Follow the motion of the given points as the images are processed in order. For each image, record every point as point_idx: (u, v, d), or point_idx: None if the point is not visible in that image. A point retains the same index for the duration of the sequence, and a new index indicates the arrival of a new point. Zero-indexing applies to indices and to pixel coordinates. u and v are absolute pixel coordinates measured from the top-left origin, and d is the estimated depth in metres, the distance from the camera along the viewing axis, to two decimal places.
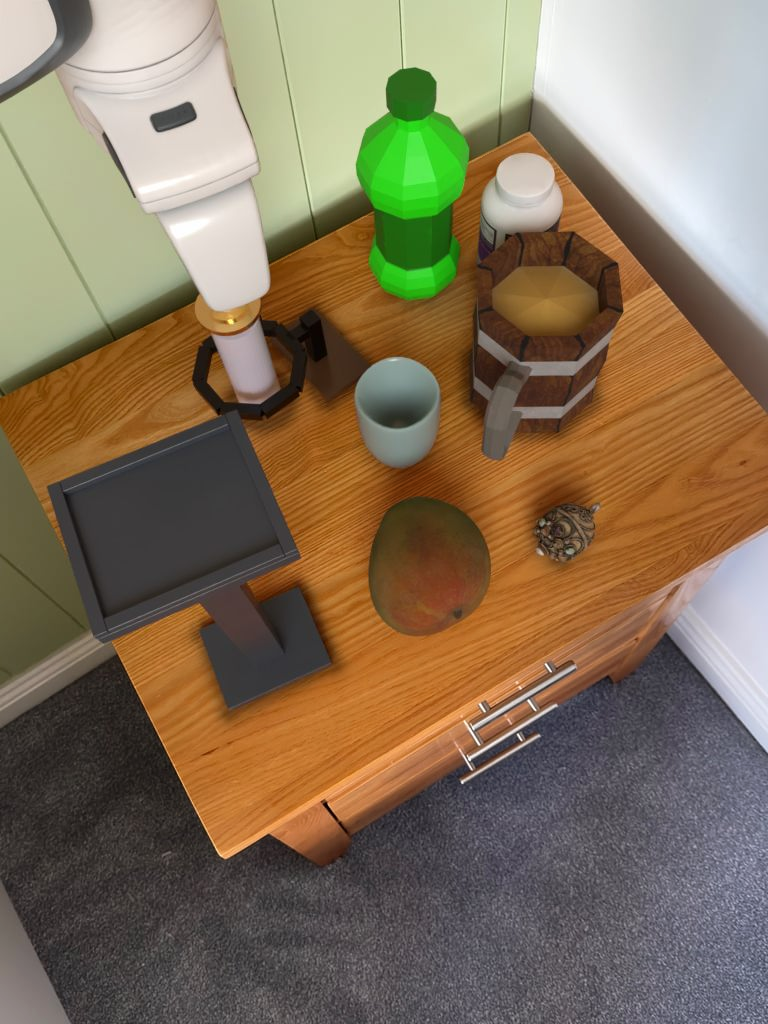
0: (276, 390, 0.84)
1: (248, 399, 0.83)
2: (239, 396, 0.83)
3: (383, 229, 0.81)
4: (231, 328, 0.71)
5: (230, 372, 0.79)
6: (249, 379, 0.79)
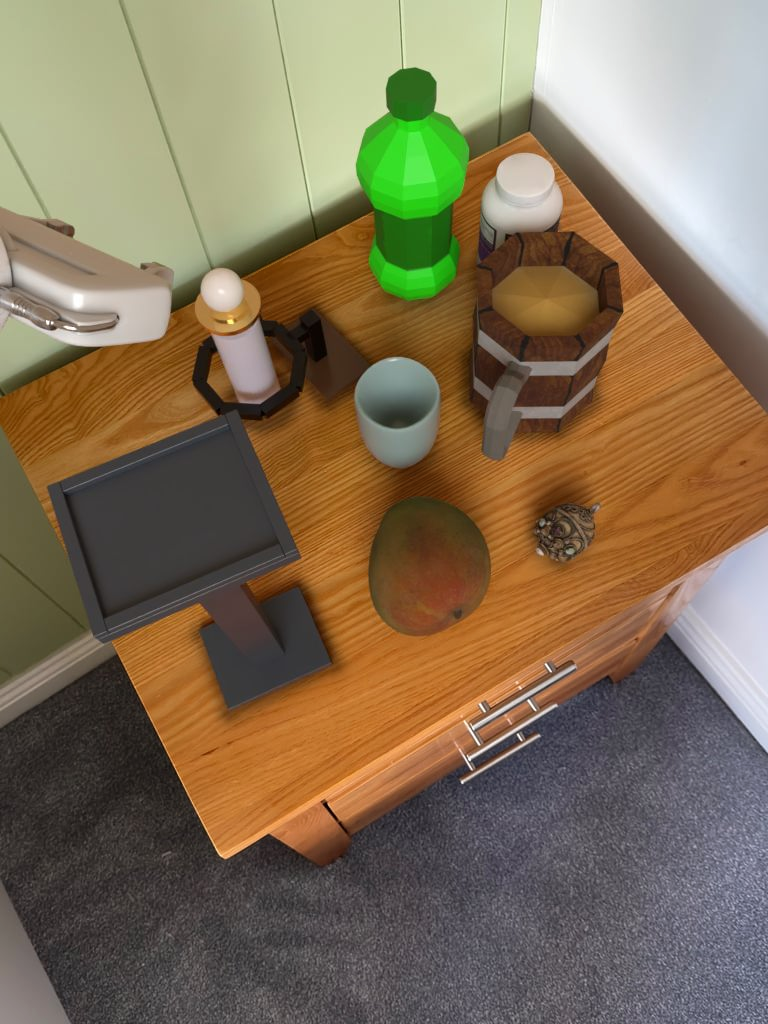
0: (276, 390, 0.84)
1: (248, 399, 0.83)
2: (239, 396, 0.83)
3: (383, 229, 0.81)
4: (231, 328, 0.71)
5: (230, 372, 0.79)
6: (249, 379, 0.79)
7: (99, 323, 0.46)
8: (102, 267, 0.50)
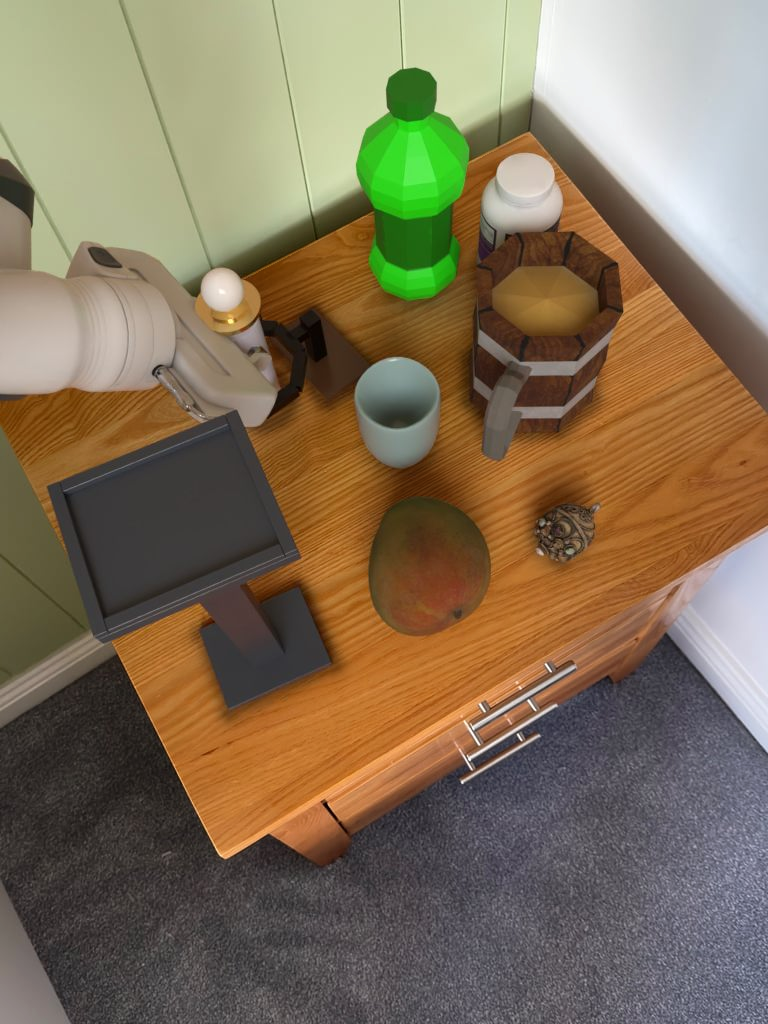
0: None
1: None
2: None
3: (383, 229, 0.81)
4: (231, 328, 0.71)
5: None
6: None
7: None
8: (235, 368, 0.69)
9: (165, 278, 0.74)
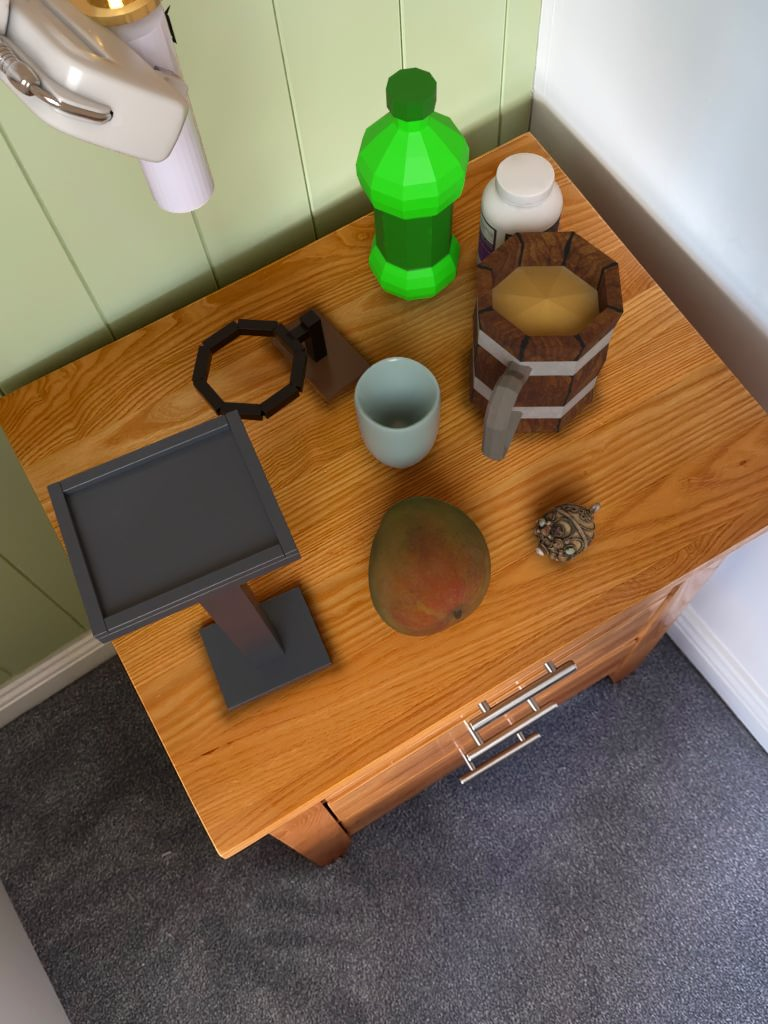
0: (204, 171, 0.58)
1: (162, 180, 0.57)
2: (149, 176, 0.57)
3: (383, 229, 0.81)
4: (117, 11, 0.45)
5: None
6: None
7: (84, 108, 0.39)
8: (117, 57, 0.43)
9: None
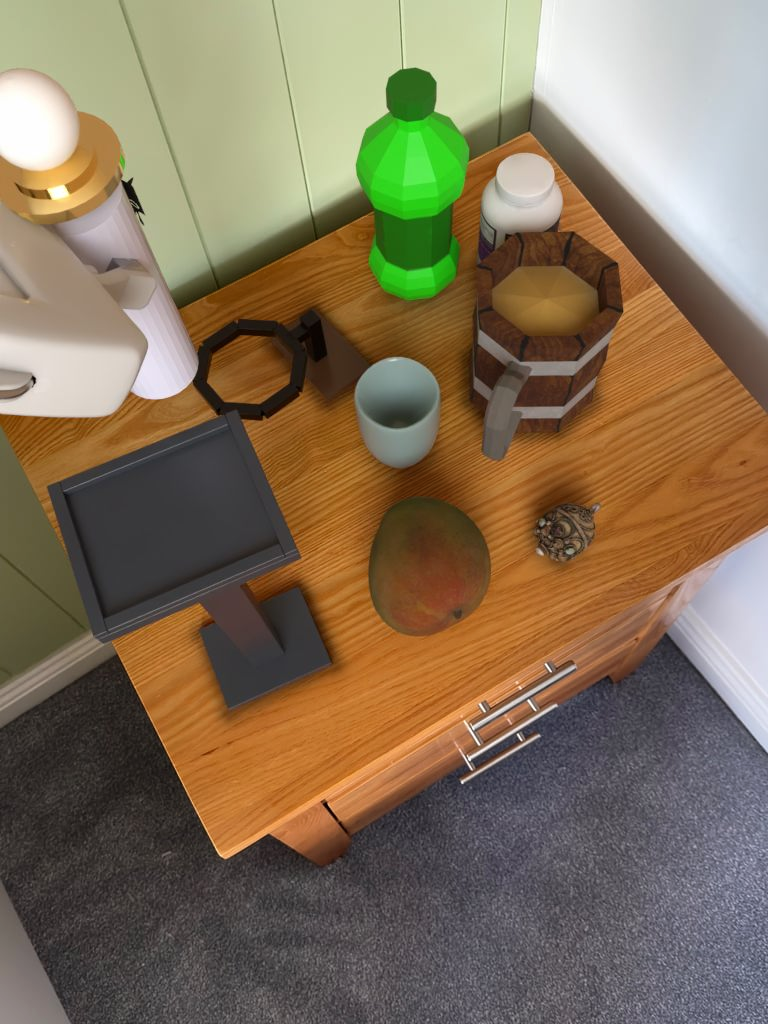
0: (184, 353, 0.46)
1: None
2: None
3: (383, 229, 0.81)
4: (55, 206, 0.34)
5: None
6: None
7: None
8: (48, 286, 0.31)
9: None
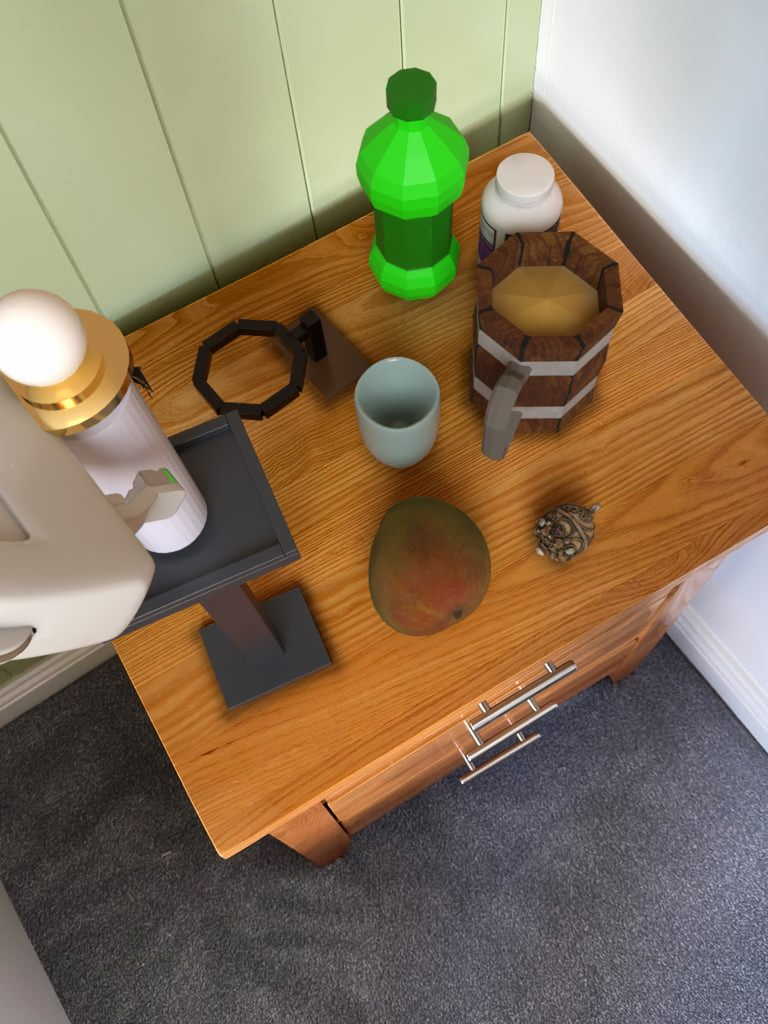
0: (193, 511, 0.45)
1: None
2: None
3: (383, 229, 0.81)
4: (60, 421, 0.32)
5: None
6: None
7: None
8: (50, 516, 0.29)
9: None
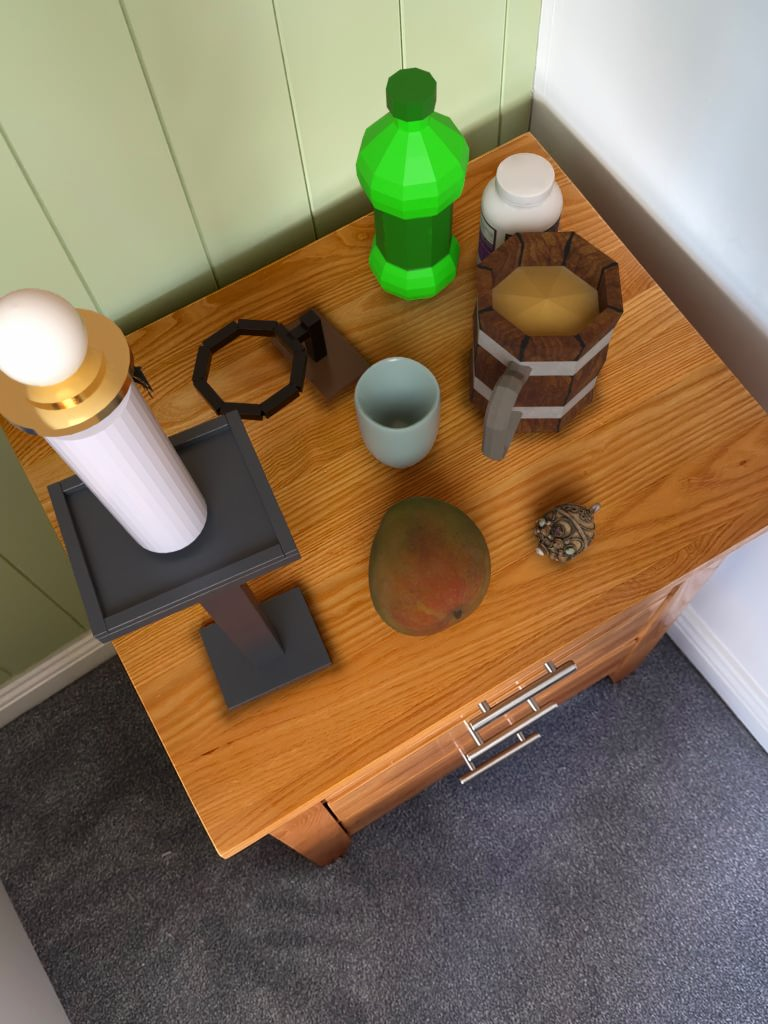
0: (193, 511, 0.45)
1: (137, 531, 0.44)
2: (121, 524, 0.44)
3: (383, 229, 0.81)
4: (61, 421, 0.32)
5: (91, 490, 0.40)
6: (130, 503, 0.40)
7: None
8: None
9: None
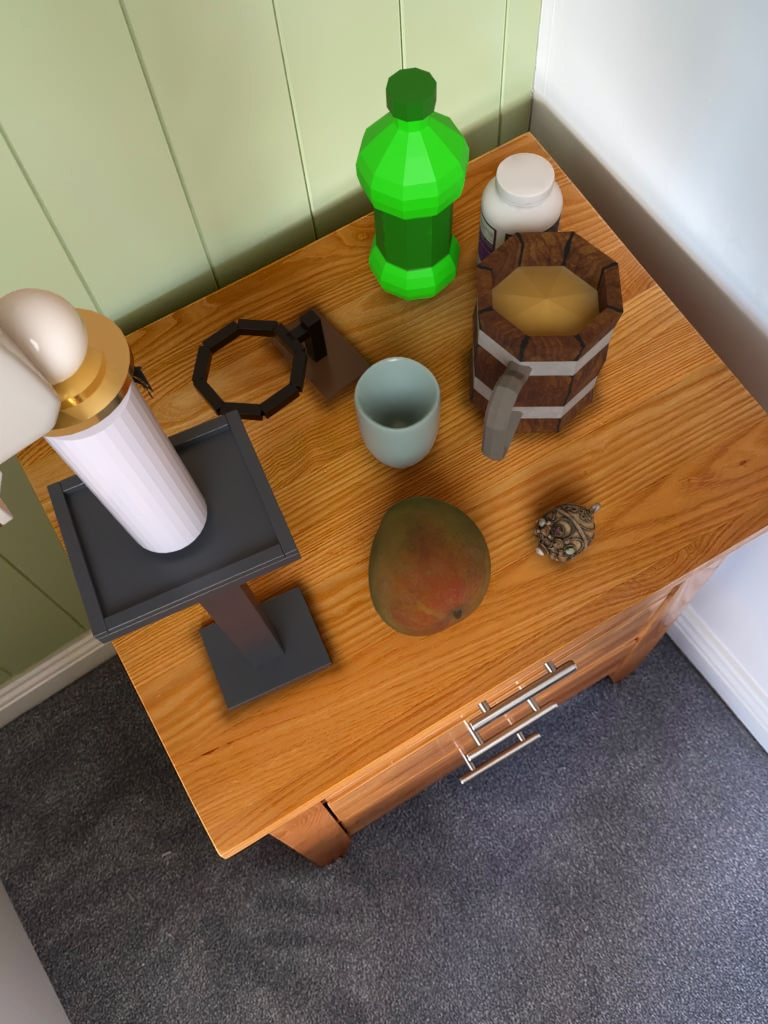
0: (193, 511, 0.45)
1: (137, 531, 0.44)
2: (121, 524, 0.44)
3: (383, 229, 0.81)
4: (61, 421, 0.32)
5: (91, 490, 0.40)
6: (130, 503, 0.40)
7: None
8: None
9: None
